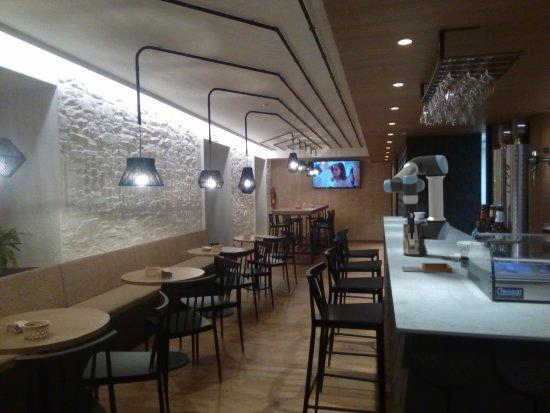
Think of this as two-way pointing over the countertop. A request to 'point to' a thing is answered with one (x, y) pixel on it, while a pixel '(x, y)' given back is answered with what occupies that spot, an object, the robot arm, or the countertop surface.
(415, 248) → the coffee box
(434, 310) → the countertop surface
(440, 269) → the walnut collar
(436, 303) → the countertop surface
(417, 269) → the slate mat
